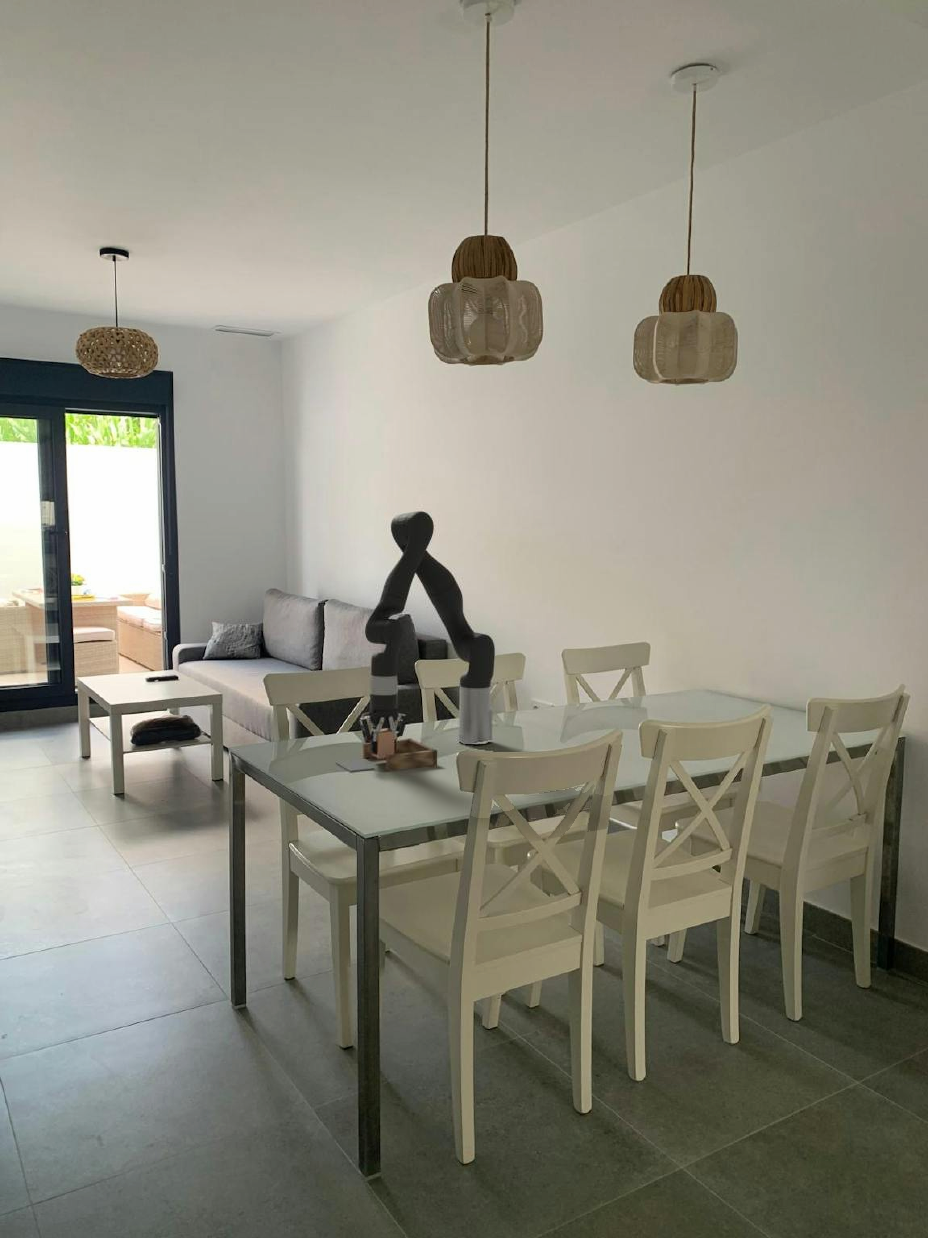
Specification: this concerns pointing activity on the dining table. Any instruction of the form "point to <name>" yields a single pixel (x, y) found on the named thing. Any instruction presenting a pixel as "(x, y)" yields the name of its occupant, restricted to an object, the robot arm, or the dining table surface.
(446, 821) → the dining table surface
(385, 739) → the terracotta block
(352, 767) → the grey mat
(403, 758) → the open box
